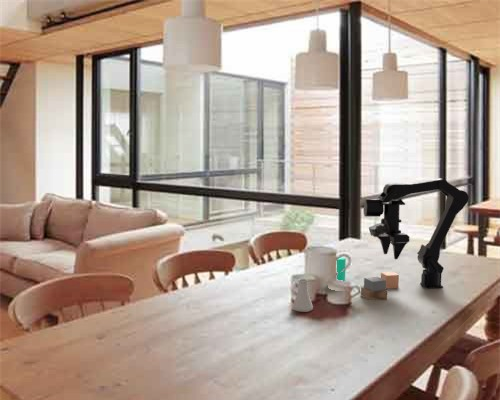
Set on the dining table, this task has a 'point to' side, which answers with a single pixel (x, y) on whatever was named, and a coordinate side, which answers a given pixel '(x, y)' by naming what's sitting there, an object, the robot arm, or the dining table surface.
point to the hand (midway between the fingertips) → (390, 256)
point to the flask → (302, 298)
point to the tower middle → (374, 283)
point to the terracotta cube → (390, 279)
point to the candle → (341, 268)
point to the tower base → (373, 294)
